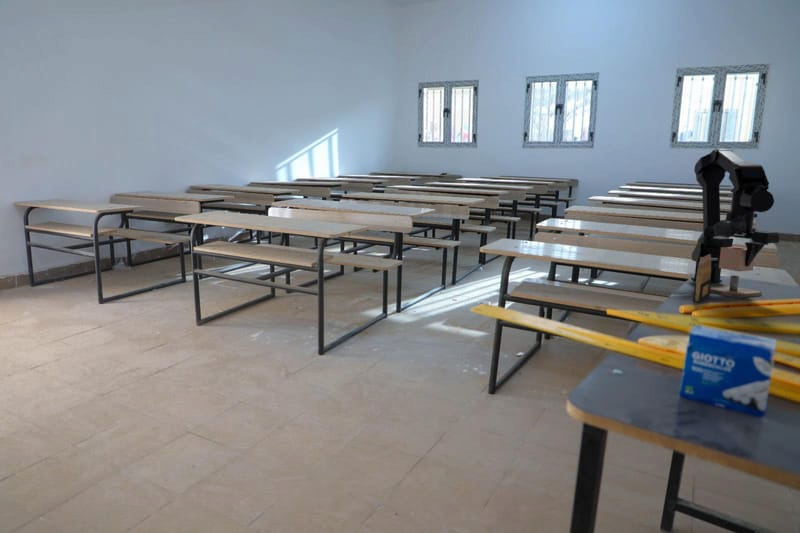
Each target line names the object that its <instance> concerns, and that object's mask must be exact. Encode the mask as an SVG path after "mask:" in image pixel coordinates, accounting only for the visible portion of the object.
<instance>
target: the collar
mask: <svg viewBox="0 0 800 533" xmlns="http://www.w3.org/2000/svg"><path fill="white" fill-rule="evenodd" d="M746 252H747V247H743V246H742V247H741V246H732V247H721V253H720V262H719V268H721V270H728V271H734V272H739V273H740V272H748V271H754V264H755V258H754V259H753V261H752V262H751V264H750V265H749V266H748V267H746V266H745V259H746Z"/></svg>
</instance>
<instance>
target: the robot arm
mask: <svg viewBox="0 0 800 533" xmlns="http://www.w3.org/2000/svg"><path fill="white" fill-rule="evenodd" d="M694 165H695V166H694V168H693V169H694V171H693V172H694V174H695V179H696V181H697V183H698V184H699V185H700V187H701V190H702V194H701V195H702V223H703V224H702V226H703V228H702V229H703V230H702V233H701V235H700V236H699V238H698V239H697V244H696V246H695V247H694V248H693V251H692V253H691V260H692V261H693V262H695V271H694V277H691V278H690V279H691V280H693V279H694V280H693V281H696V277H697V272H698V267H699V262H700V259H701V258H703V257H704V256H706V255H709V254H710V255H711V277H710V279H711V283H718V282H723V280H722V279H721V273H722V269H721V268H719V262H720V253H721V247H733V242H734V238H739V239H749V240H750V241H749V242H748V241H746V242H744V244H745V246H746V247H745V248H747V252H746V259H745V266H746V267H748V266H749V265H750V264H751V262H752V261H753V259H754V260H755V258H756V256H757V255H758V254H759V253H760V251H761V250H762V249H763V248H764V247H765V246H768V245H769V244H776V243H777V244H778V243H780V235H779V233H778V232H775V231H765V230H762V231H760V230H759V231H756V228H754V219H755V218H757V217H758V213H764V212H765V213H766V212H768V211H769V210H770V209H772V207H773V206H774V204H775V203H774V202H775V199H774V198H775V197H774V196H773V194H772V193H771V192H770V191H768V190H769V189H770V187H769V185H770V183H769V180H768V177H767V174H766V172H765V168H764V167H763V166H762V164H759V163H756V162H749V161H745V160H744V159H743V158H741V157H739V156H738V155H737V154H735V153H734V151H733V150H732V149H729V148H715V149H713V150H712V151H711V152H709V153H708V154H706V155H703V156H702V157H700V158H699V159H698V160H697V162H696V163H695V164H694ZM726 173H728V174H729V176H728V179H729V182H730V183H731V185H732V186H733V187H732V188H731V190H730V193H732V196H731V206H730V212H727V213H726V216H725V219H722V220H721V201H720V200H721V195H720V193H721V192H720V184H721V183H722V182H723V180H724V178H725V177H726ZM755 212H757V213H755Z"/></svg>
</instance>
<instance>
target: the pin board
mask: <svg viewBox="0 0 800 533" xmlns="http://www.w3.org/2000/svg"><path fill="white" fill-rule="evenodd" d="M739 279H740V276H739V275H730V280H729V284H727V285H726V284H725V285H718V286H710V293H713V294H717V295H721V296H725V297H731V298H736V299H742V298H743V299H744V298H752V297H759V296H762V295H763V294H762V293H763V292H762V291H759V290H753V289H749V288H745V287H739Z"/></svg>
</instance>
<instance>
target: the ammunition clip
mask: <svg viewBox="0 0 800 533" xmlns="http://www.w3.org/2000/svg"><path fill="white" fill-rule="evenodd" d="M700 258H701V257H700ZM711 259H712V258H711V255H710V254H709V255H706V256H704V257H703V258H701V259H700V262H699V267H698V272H697V277H696V280H695V283H694V286H693V287H694V288H693V296H692V302H693V303H700V304H701V303H702V302H703V301H705V300H706V299H707V298H710V293H711V292H710V287H711V284H712V282H711V279H710V277H711Z"/></svg>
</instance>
